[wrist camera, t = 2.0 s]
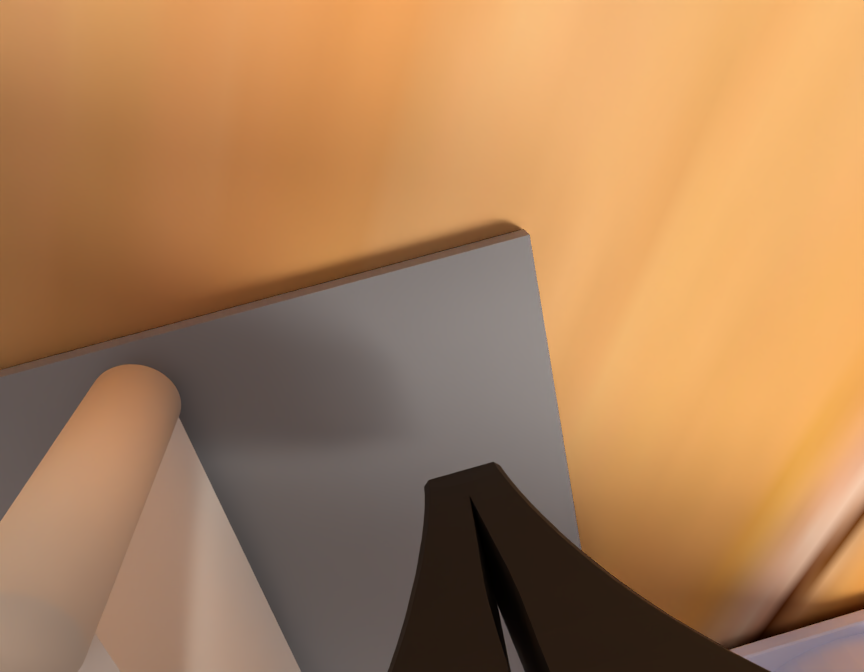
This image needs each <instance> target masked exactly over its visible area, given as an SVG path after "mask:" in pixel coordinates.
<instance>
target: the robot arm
mask: <svg viewBox="0 0 864 672" xmlns="http://www.w3.org/2000/svg"><path fill="white" fill-rule="evenodd" d="M424 493H425V509H424V522H423V531H422V539H421V545H420V551H419V557H418V563H417V569H416V574H415V578H414V583H413V587H412V591H411V595H410V599H409V603H408V607H407V611H406V615H405V619H404V622H403V626H402V629H401V633H400V636H399V639H398V642H397V646H396V649H395V651H394V654H393V657H392V660H391V663H390V666H389V669H388V672H511V669H510V664H509V659H508V654H507V649H506V644H505V639H504V634H503V630H502V625H501V620H500V615H499V610H500V612H501V615H502V617H503V620H504V622H505V625H506V627H507V630H508V632H509V634H510V637H511V639H512V642H513V644H514V647H515V649H516V652H517V654H518V656H519V659H520V661H521V664H522V666H523V669H524V671H525V672H864V609H862V610H859V611H856V612H852V613H849V614H846V615H842V616H839V617H836V618H833V619H829V620H826V621H823V622H819V623H816V624H813V625H809V626H806V627H803V628H799V629H796V630H793V631H789V632H786V633H783V634H779V635H776V636H773V637H769V638H766V639H763V640H759V641H756V642H753V643H749V644H746V645H743V646H740V647H736V648H733V649H730V650H728V649H727V648H725V647H723V646H721V645H720V644H718V643H716V642H715V641H713V640H711V639H709V638H708V637H706V636H704V635H702V634H701V633H699V632H697V631H696V630H694V629H692V628H690V627H689V626H687V625H685V624H683V623H682V622H680V621H678V620H677V619H675V618H673V617H672V616H670V615H669V614H667V613H666V612H664V611H663V610H661V609H660V608H658V607H656V606H655V605H653V604H652V603H650V602H649V601H647V600H646V599H644V598H643V597H641V596H640V595H639V594H637V593H636V592H634V591H633V590H632V589H630V588H629V587H627V586H626V585H625V584H623V583H622V582H620V581H619V580H618V579H616V578H615V577H614V576H613V575H611V574H610V573H609V572H607V571H606V570H605V569H604V568H602V567H601V566H600V565H598V564H597V563H596V562H595V561H594V560H592V559H591V558H590V557H589V556H588V555H586V554H585V553H584V552H583V551H582V550H580V549H579V548H578V547H577V546H576V545H575V544H573V543H572V542H571V541H570V540H569V539H568V538H567V537H566V536H564V535H563V534H562V533H561V532H560V531H559V530H558V529H557V528H556V527H555V526H554V525H553V524H552V523H551V522H550V521H549V520H548V519H547V518H546V517H544V516H543V515H542V514H541V513H540V512H539V511H538V510H537V508H536V507H535V506H534V505H533V504H532V503H531V502H530V501H529V500H528V499H527V498H526V497H525V496H524V495H523V494H522V492H521V491H520V490H519V489H518V488H517V487H516V485H515V484H514V483H513V482H512V481H511V479H510V478H509V477H508V476H507V474H506V473H505V472H504V470H503V469H502V467H501V466H500V465H499V464H497V463H495V462H490V463H487V464H483V465H480V466H476V467H473V468H469V469H466V470H462V471H459V472H455V473H451V474H448V475H444V476H441V477H437V478H434V479H430V480H428V482H427V483H426V484H425V486H424ZM498 607H499V610H498Z"/></svg>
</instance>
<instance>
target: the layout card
mask: <svg viewBox="0 0 864 672" xmlns="http://www.w3.org/2000/svg"><path fill="white" fill-rule="evenodd" d="M127 364H137V365H143V366H147V367H150V368H153V369H155V370H157V371H159V372H161V373H162V374H164V375H165V376H166V377H168V378H169V379H170V380H171V381H172V382H173V384H174V385H175V386H176V388H177V390H178V392H179V395H180V399H181V411H180V415H179V419H180V421H181V423H182V425H183V427H184V429H185V431H186V433H187V435H188V437H189V439H190V442H191V444H192V446H193V448H194V450H195V452H196V454H197V456H198V458H199V460H200V462H201V464H202V466H203V469H204V471H205V473H206V475H207V477H208V479H209V481H210V483H211V485H212V487H213V489H214V491H215V494H216V496H217V498H218V500H219V502H220V504H221V506H222V508H223V510H224V512H225V514H226V516H227V519H228V521H229V523H230V525H231V527H232V529H233V531H234V533H235V535H236V537H237V539H238V541H239V544H240V546H241V548H242V550H243V552H244V554H245V556H246V558H247V560H248V562H249V564H250V566H251V568H252V571H253V573H254V575H255V577H256V579H257V581H258V583H259V585H260V587H261V589H262V591H263V593H264V596H265V598H266V600H267V602H268V604H269V606H270V608H271V610H272V612H273V614H274V616H275V618H276V621H277V623H278V625H279V627H280V629H281V631H282V633H283V635H284V637H285V639H286V641H287V643H288V645H289V648H290V650H291V652H292V654H293V656H294V658H295V660H296V662H297V664H298V666H299V668H300V670H301V672H388V669H389V666H390V663H391V660H392V657H393V654H394V651H395V649H396V646H397V642H398V639H399V636H400V633H401V629H402V626H403V622H404V619H405V615H406V611H407V607H408V603H409V599H410V595H411V591H412V587H413V583H414V578H415V574H416V569H417V563H418V557H419V551H420V545H421V539H422V531H423V522H424V509H425V493H424V486H425V484H426V483H427V482H428V480H430V479H434V478H437V477H441V476H444V475H448V474H451V473H455V472H459V471H462V470H466V469H469V468H473V467H476V466H480V465H483V464H487V463H490V462H495V463H497V464H499V465H500V466H501V467H502V469H503V470H504V472H505V473H506V474H507V476H508V477H509V478H510V479H511V481H512V482H513V483H514V484H515V485H516V487H517V488H518V489H519V490H520V491H521V492H522V494H523V495H524V496H525V497H526V498H527V499H528V500H529V501H530V502H531V503H532V504H533V505H534V506H535V507H536V508H537V510H538V511H539V512H540V513H541V514H542V515H543V516H544V517H546V518H547V519H548V520H549V521H550V522H551V523H552V524H553V525H554V526H555V527H556V528H557V529H558V530H559V531H560V532H561V533H562V534H563V535H564V536H566V537H567V538H568V539H569V540H570V541H571V542H572V543H573V544H575V545H576V546H577V547H578V548H579V549H580V550H581V545H580V539H579V533H578V527H577V521H576V515H575V508H574V502H573V496H572V490H571V484H570V478H569V472H568V466H567V460H566V454H565V448H564V441H563V435H562V429H561V423H560V417H559V411H558V405H557V399H556V393H555V387H554V381H553V374H552V368H551V362H550V356H549V350H548V344H547V338H546V332H545V326H544V320H543V314H542V307H541V301H540V295H539V289H538V283H537V277H536V271H535V265H534V259H533V253H532V247H531V241H530V235H529V234H528V233H527V232H526V231H525V230H524V229H523V230H519V231H515V232H511V233H508V234H504V235H500V236H497V237H493V238H489V239H485V240H482V241H478V242H474V243H470V244H467V245H463V246H459V247H456V248H452V249H448V250H444V251H441V252H437V253H433V254H430V255H426V256H422V257H418V258H415V259H411V260H407V261H404V262H400V263H396V264H392V265H389V266H385V267H381V268H378V269H374V270H370V271H366V272H363V273H359V274H355V275H352V276H348V277H344V278H340V279H337V280H333V281H329V282H325V283H322V284H318V285H314V286H311V287H307V288H303V289H299V290H296V291H292V292H288V293H285V294H281V295H277V296H273V297H270V298H266V299H262V300H259V301H255V302H251V303H247V304H244V305H240V306H236V307H233V308H229V309H225V310H221V311H218V312H214V313H210V314H207V315H203V316H199V317H195V318H192V319H188V320H184V321H180V322H177V323H173V324H169V325H166V326H162V327H158V328H154V329H151V330H147V331H143V332H140V333H136V334H132V335H128V336H125V337H121V338H117V339H114V340H110V341H106V342H102V343H99V344H95V345H91V346H88V347H84V348H80V349H76V350H73V351H69V352H65V353H61V354H58V355H54V356H50V357H47V358H43V359H39V360H35V361H32V362H28V363H24V364H21V365H17V366H13V367H9V368H6V369H2V370H0V521H1V520H2V518H3V517H4V515H5V514H6V513H7V511H8V510H9V508H10V507H11V505H12V504H13V502H14V501H15V499H16V498H17V496H18V495H19V493H20V492H21V490H22V489H23V487H24V486H25V484H26V483H27V481H28V480H29V478H30V477H31V475H32V474H33V472H34V471H35V469H36V468H37V467H38V465H39V464H40V462H41V461H42V459H43V458H44V456H45V455H46V453H47V452H48V450H49V449H50V447H51V446H52V444H53V443H54V441H55V440H56V438H57V437H58V435H59V434H60V432H61V431H62V429H63V428H64V426H65V425H66V424H67V422H68V421H69V419H70V418H71V416H72V415H73V413H74V412H75V410H76V409H77V407H78V406H79V404H80V403H81V401H82V400H83V398H84V397H85V395H86V394H87V392H88V391H89V389H90V388H91V386H92V385H93V383H94V382H95V381H96V379H97V378H98V377H99V376H100V375H101V374H102V373H104V372H105V371H107V370H109V369H111V368H113V367H116V366H120V365H127ZM498 610H499V607H498ZM499 615H500V620H501V625H502V630H503V634H504V639H505V644H506V649H507V654H508V659H509V664H510V669H511V672H525V671H524V669H523V666H522V664H521V661H520V659H519V656H518V654H517V652H516V649H515V647H514V644H513V642H512V639H511V637H510V634H509V632H508V630H507V627H506V625H505V622H504V620H503V617H502V615H501V612H500V610H499Z"/></svg>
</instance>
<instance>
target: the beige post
mask: <svg viewBox="0 0 864 672" xmlns="http://www.w3.org/2000/svg"><path fill="white" fill-rule="evenodd" d="M180 411H181V399H180V395H179V392H178V390H177V388H176V386H175V385H174V384H173V382H172V381H171V380H170V379H169V378H168V377H166V376H165V375H164V374H162V373H161V372H159V371H157V370H155V369H153V368H150V367H147V366H143V365H137V364H127V365H120V366H116V367H113V368H111V369H109V370H107V371H105V372H104V373H102V374H101V375H100V376H99V377H98V378H97V379H96V381H95V382H94V383H93V385H92V386H91V388H90V389H89V391H88V392H87V394H86V395H85V397H84V398H83V400H82V401H81V403H80V404H79V406H78V407H77V409H76V410H75V412H74V413H73V415H72V416H71V418H70V419H69V421H68V422H67V424H66V425H65V426H64V428H63V429H62V431H61V432H60V434H59V435H58V437H57V438H56V440H55V441H54V443H53V444H52V446H51V447H50V449H49V450H48V452H47V453H46V455H45V456H44V458H43V459H42V461H41V462H40V464H39V465H38V467H37V468H36V469H35V471H34V472H33V474H32V475H31V477H30V478H29V480H28V481H27V483H26V484H25V486H24V487H23V489H22V490H21V492H20V493H19V495H18V496H17V498H16V499H15V501H14V502H13V504H12V505H11V507H10V508H9V510H8V511H7V513H6V514H5V515H4V517H3V518H2V520H1V521H0V672H301V670H300V668H299V666H298V664H297V662H296V660H295V658H294V656H293V654H292V652H291V650H290V648H289V645H288V643H287V641H286V639H285V637H284V635H283V633H282V631H281V629H280V627H279V625H278V623H277V621H276V618H275V616H274V614H273V612H272V610H271V608H270V606H269V604H268V602H267V600H266V598H265V596H264V593H263V591H262V589H261V587H260V585H259V583H258V581H257V579H256V577H255V575H254V573H253V571H252V568H251V566H250V564H249V562H248V560H247V558H246V556H245V554H244V552H243V550H242V548H241V546H240V544H239V541H238V539H237V537H236V535H235V533H234V531H233V529H232V527H231V525H230V523H229V521H228V519H227V516H226V514H225V512H224V510H223V508H222V506H221V504H220V502H219V500H218V498H217V496H216V494H215V491H214V489H213V487H212V485H211V483H210V481H209V479H208V477H207V475H206V473H205V471H204V469H203V466H202V464H201V462H200V460H199V458H198V456H197V454H196V452H195V450H194V448H193V446H192V444H191V442H190V439H189V437H188V435H187V433H186V431H185V429H184V427H183V425H182V423H181V421H180V419H179V415H180Z"/></svg>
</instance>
